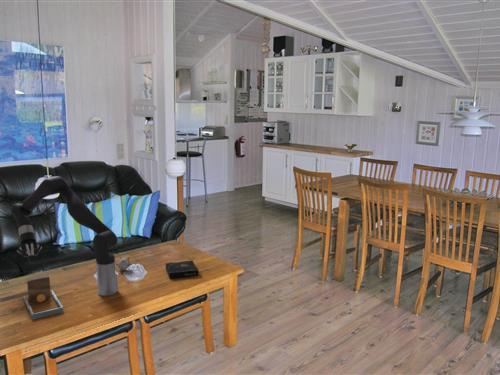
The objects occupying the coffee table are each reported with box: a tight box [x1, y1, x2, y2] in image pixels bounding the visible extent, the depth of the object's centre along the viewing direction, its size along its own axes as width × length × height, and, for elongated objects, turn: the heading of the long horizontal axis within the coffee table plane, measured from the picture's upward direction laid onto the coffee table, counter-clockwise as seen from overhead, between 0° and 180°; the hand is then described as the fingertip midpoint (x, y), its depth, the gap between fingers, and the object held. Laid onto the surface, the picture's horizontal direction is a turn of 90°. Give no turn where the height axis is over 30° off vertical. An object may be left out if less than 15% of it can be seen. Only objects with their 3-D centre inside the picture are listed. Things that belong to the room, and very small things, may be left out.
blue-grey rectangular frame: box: [28, 298, 64, 321], centre depth 214 cm, size 11×14×2 cm
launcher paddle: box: [26, 274, 52, 302], centre depth 226 cm, size 3×10×11 cm, turn 125°
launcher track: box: [23, 289, 59, 312], centre depth 224 cm, size 16×14×2 cm
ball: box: [36, 294, 46, 303], centre depth 224 cm, size 4×4×4 cm
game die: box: [115, 256, 133, 271], centre depth 264 cm, size 9×8×10 cm
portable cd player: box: [165, 260, 199, 280], centre depth 264 cm, size 16×17×4 cm
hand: (32, 262), depth 237 cm, fingers closed
